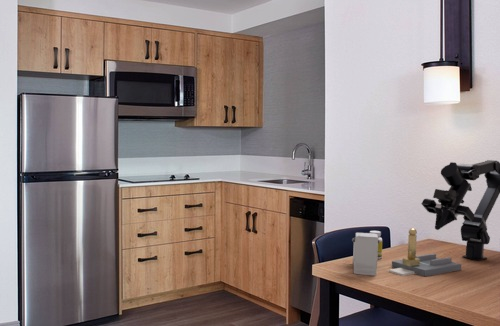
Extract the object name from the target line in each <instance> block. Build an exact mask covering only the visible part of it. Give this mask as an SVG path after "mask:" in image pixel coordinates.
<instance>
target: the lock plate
mask: <svg viewBox="0 0 500 326" xmlns="http://www.w3.org/2000/svg"><path fill="white" fill-rule="evenodd" d="M416 258H418V259H420V265H416V266H407V265H403V264H402V262H403V259H397V260H393V261H391V267H392V268H393V269H396V268H404V269H407V270H411V271H414V272H415V274H414V275H419V276H422V277H429V276H433V275H434V276H435V275H441V274H447V273H451V272H457V271H461V270H462V263H459V262H455V261H453V259H452V257H450V256H448V257H447V256H446V257H442V258H438V257H437V254H436V253H428V254H422V255H421V254H420V255H416Z"/></svg>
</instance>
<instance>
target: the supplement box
mask: <svg viewBox="0 0 500 326" xmlns="http://www.w3.org/2000/svg"><path fill="white" fill-rule="evenodd" d="M354 238H355V252H354V265H353V274H354V275H365V276H375V277H376V276H377V271H378V269H377V268H378V259H377V251H378V235H377V234H373V233H370V232H355V237H354Z"/></svg>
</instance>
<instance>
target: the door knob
mask: <svg viewBox="0 0 500 326" xmlns="http://www.w3.org/2000/svg"><path fill="white" fill-rule="evenodd" d="M417 234H418V233H417V230H416V229H415V228H410V229H409V230H408V240H407V257H405V258H404V257H403V258H402V260H403V262H402V264H403V265H407V266H416V265H420V259H418V258H416V256H417V255H416V254H417V238H418V237H417Z"/></svg>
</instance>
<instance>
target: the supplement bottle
mask: <svg viewBox="0 0 500 326" xmlns="http://www.w3.org/2000/svg"><path fill="white" fill-rule="evenodd" d="M369 233H373V234H377V235H378V240H380V243H379V244H378V258H377V260H380V259H382V255H383V238H382V237H381V235H382V231H379V230H370V231H369Z"/></svg>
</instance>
